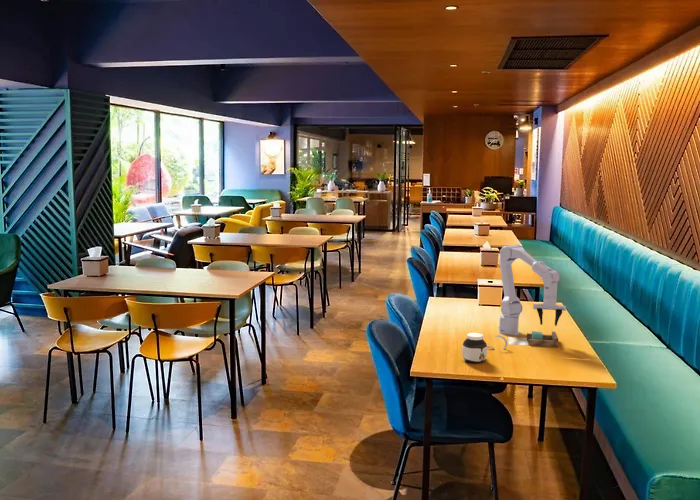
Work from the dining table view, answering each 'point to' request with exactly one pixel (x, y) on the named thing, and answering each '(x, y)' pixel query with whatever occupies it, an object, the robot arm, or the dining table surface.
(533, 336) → the teal block
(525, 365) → the dining table surface
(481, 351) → the spread jar
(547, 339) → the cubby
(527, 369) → the dining table surface
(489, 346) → the hook
